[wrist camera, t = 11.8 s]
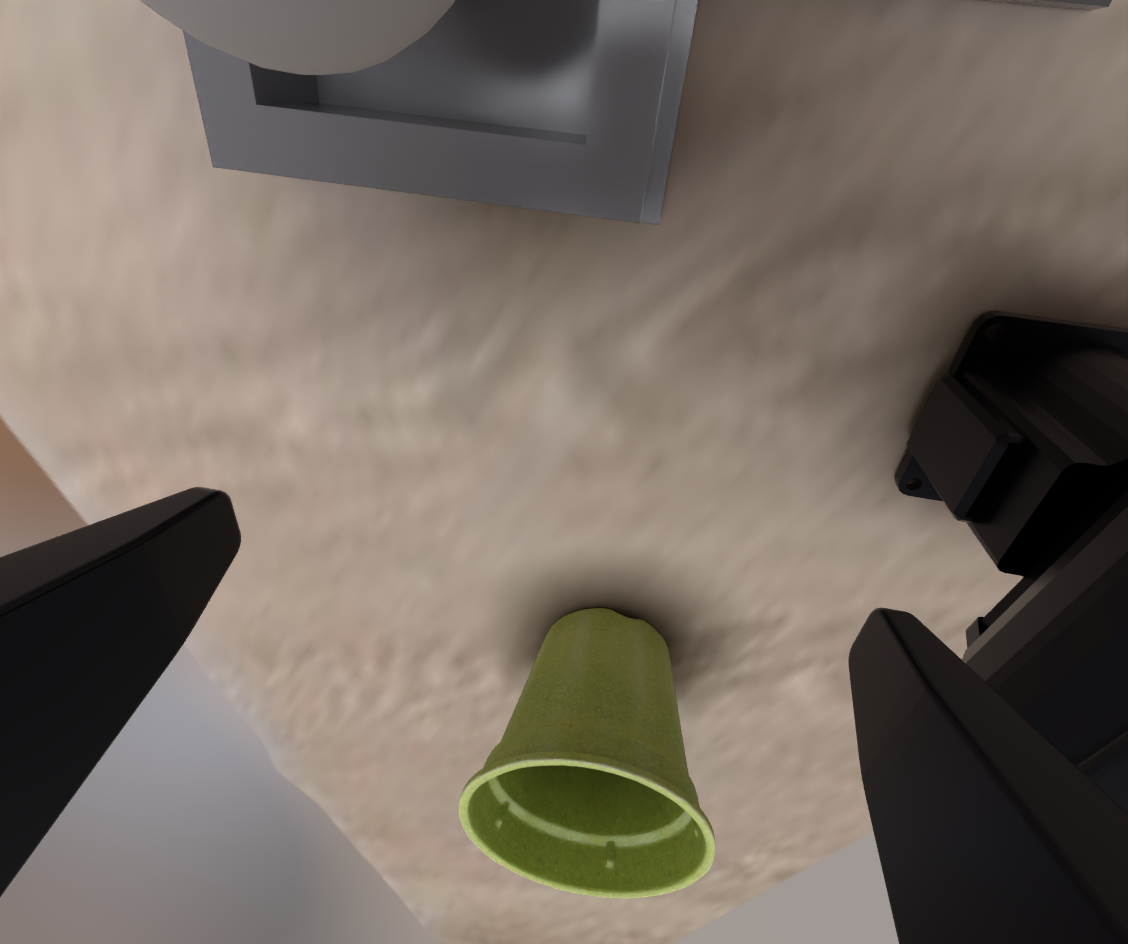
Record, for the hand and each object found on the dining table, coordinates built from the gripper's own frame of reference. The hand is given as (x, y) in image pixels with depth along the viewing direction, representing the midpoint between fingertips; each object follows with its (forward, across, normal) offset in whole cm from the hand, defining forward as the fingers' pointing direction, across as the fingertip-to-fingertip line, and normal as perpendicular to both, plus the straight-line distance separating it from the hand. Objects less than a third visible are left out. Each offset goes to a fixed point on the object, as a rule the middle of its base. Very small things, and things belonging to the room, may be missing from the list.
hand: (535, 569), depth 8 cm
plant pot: (+13, -2, +17) cm, 22 cm away
